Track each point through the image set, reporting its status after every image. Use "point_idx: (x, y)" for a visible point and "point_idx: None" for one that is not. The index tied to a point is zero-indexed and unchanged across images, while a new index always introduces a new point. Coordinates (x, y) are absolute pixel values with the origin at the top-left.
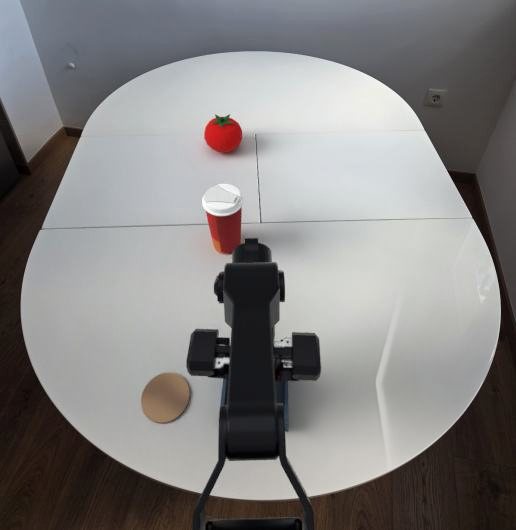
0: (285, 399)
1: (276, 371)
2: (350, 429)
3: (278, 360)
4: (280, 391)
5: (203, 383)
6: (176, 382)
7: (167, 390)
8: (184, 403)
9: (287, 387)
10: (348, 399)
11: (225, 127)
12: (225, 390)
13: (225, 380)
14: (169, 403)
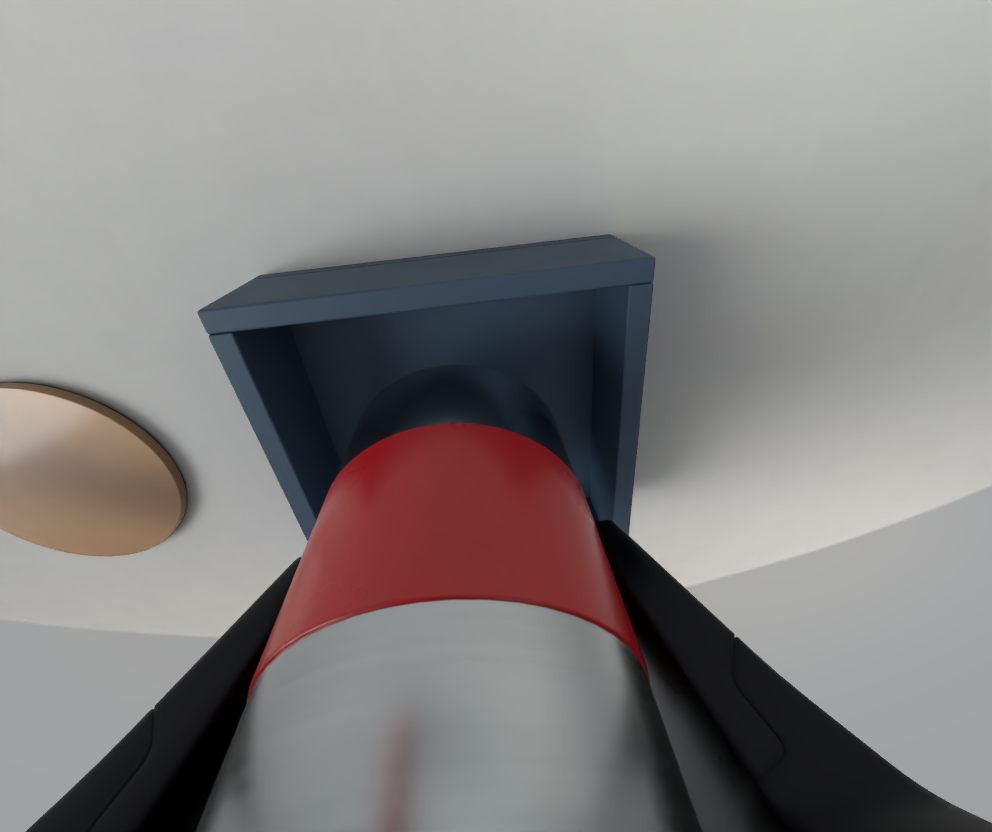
0: (619, 490)
1: (654, 684)
2: (829, 455)
3: (738, 802)
4: (575, 385)
5: (197, 398)
6: (59, 425)
7: (48, 463)
8: (166, 492)
9: (634, 442)
10: (873, 358)
11: None
12: (309, 503)
13: (285, 465)
14: (102, 502)
